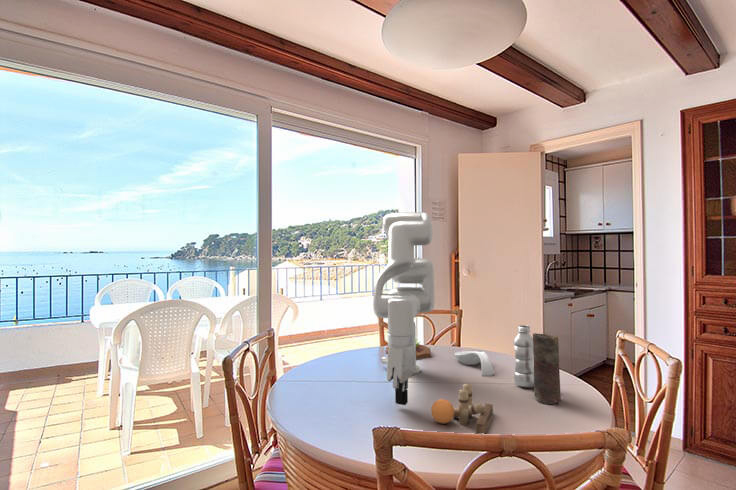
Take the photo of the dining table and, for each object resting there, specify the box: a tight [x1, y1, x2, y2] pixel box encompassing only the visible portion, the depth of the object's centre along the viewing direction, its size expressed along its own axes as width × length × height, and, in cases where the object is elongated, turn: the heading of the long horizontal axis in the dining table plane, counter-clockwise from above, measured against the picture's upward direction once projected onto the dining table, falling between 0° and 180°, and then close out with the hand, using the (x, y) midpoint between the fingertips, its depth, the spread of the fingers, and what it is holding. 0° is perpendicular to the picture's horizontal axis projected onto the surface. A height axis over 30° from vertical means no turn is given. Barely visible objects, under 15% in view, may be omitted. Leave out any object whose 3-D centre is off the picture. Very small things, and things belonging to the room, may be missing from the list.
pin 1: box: [462, 383, 473, 419], centre depth 110 cm, size 2×2×8 cm
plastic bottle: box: [513, 325, 534, 388], centre depth 134 cm, size 6×7×20 cm
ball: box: [430, 398, 455, 425], centre depth 106 cm, size 6×6×6 cm
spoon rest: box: [454, 350, 495, 377], centre depth 157 cm, size 24×12×7 cm, turn 8°
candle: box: [532, 332, 562, 405], centre depth 122 cm, size 8×7×20 cm
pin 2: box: [458, 389, 470, 426], centre depth 106 cm, size 2×2×8 cm
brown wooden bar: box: [475, 403, 494, 434], centre depth 106 cm, size 2×14×2 cm, turn 155°
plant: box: [385, 338, 432, 360], centre depth 177 cm, size 20×20×11 cm
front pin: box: [453, 402, 484, 419], centre depth 108 cm, size 2×2×8 cm
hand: (401, 403), depth 116 cm, fingers closed
